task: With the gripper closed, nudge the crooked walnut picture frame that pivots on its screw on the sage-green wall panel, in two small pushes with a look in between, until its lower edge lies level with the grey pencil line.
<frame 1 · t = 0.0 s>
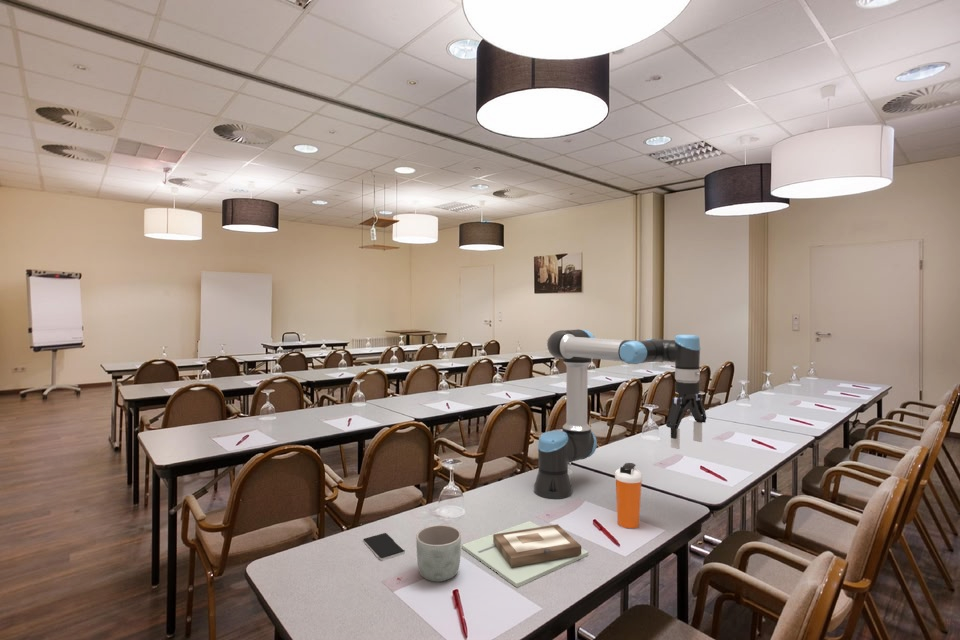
hand: (686, 444, 161), 28 cm above the table, fingers open, 13 cm apart
wall panel: (524, 551, 146), on the table
frame: (536, 543, 144), point 3 cm above the table, hinge at -18.0°
shaker bottle: (628, 524, 164), on the table
planter: (438, 574, 134), on the table
smartphone: (383, 549, 149), on the table
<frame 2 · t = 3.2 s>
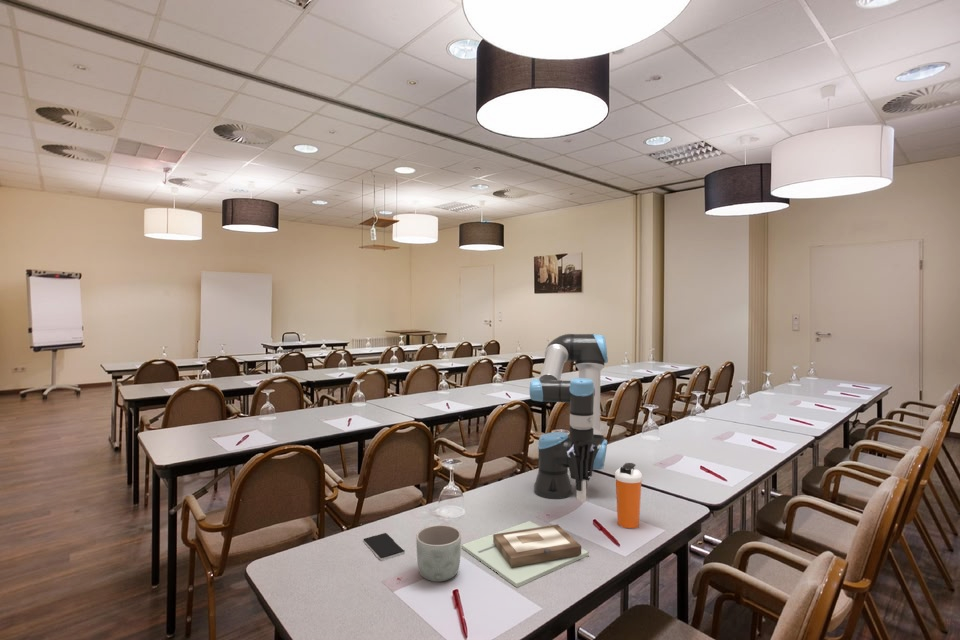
hand: (581, 499, 156), 12 cm above the table, fingers closed
nothing on the table moved.
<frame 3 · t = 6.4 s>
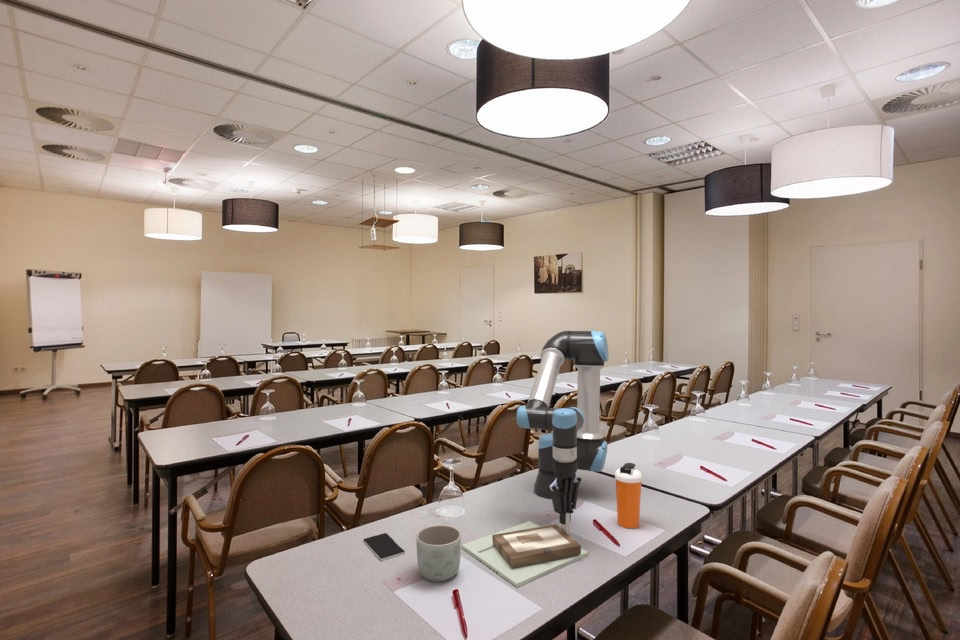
hand: (565, 532, 152), 3 cm above the table, fingers closed
frame: (536, 543, 144), point 3 cm above the table, hinge at -16.6°, touching gripper
everything else where it was.
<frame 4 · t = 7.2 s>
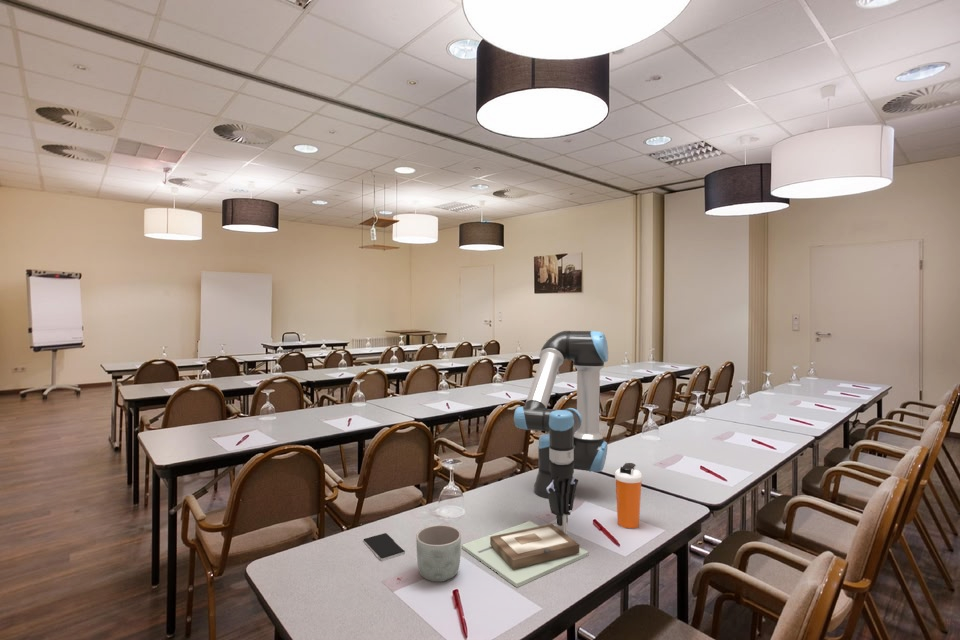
hand: (562, 534, 152), 2 cm above the table, fingers closed
frame: (534, 544, 144), point 3 cm above the table, hinge at -12.5°, touching gripper
everything else where it was.
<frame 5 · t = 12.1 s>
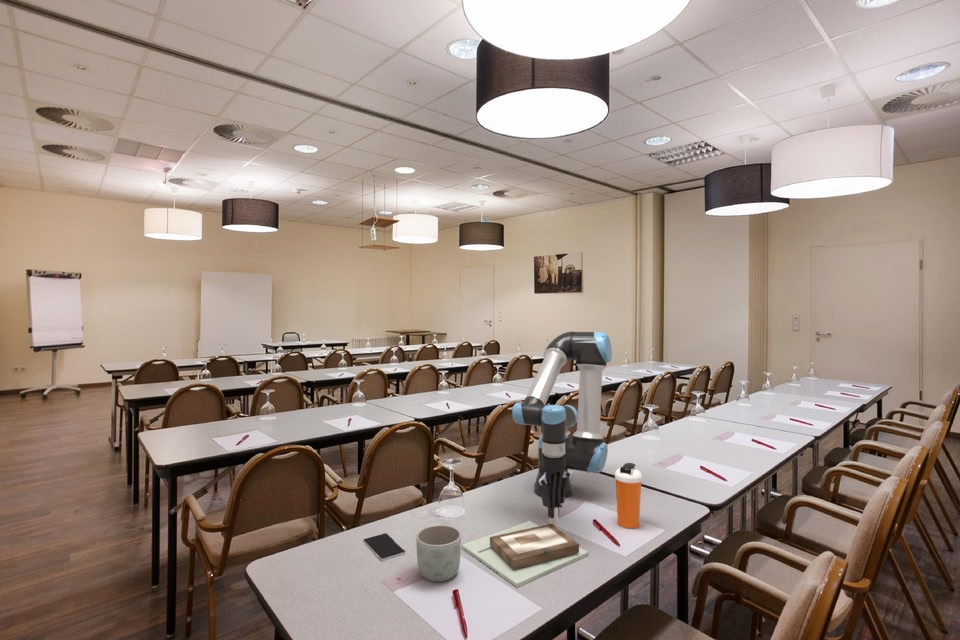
hand: (553, 526, 156), 3 cm above the table, fingers closed
frame: (534, 544, 144), point 3 cm above the table, hinge at -11.6°, touching gripper
everything else where it was.
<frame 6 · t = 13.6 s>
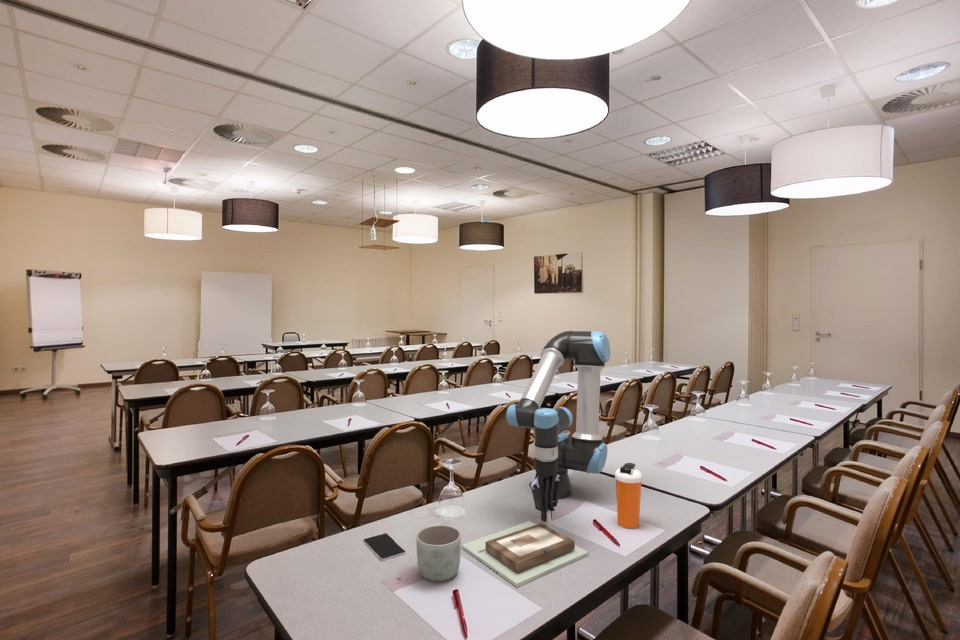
hand: (546, 529, 155), 2 cm above the table, fingers closed
frame: (531, 545, 143), point 3 cm above the table, hinge at -1.5°, touching gripper
everything else where it was.
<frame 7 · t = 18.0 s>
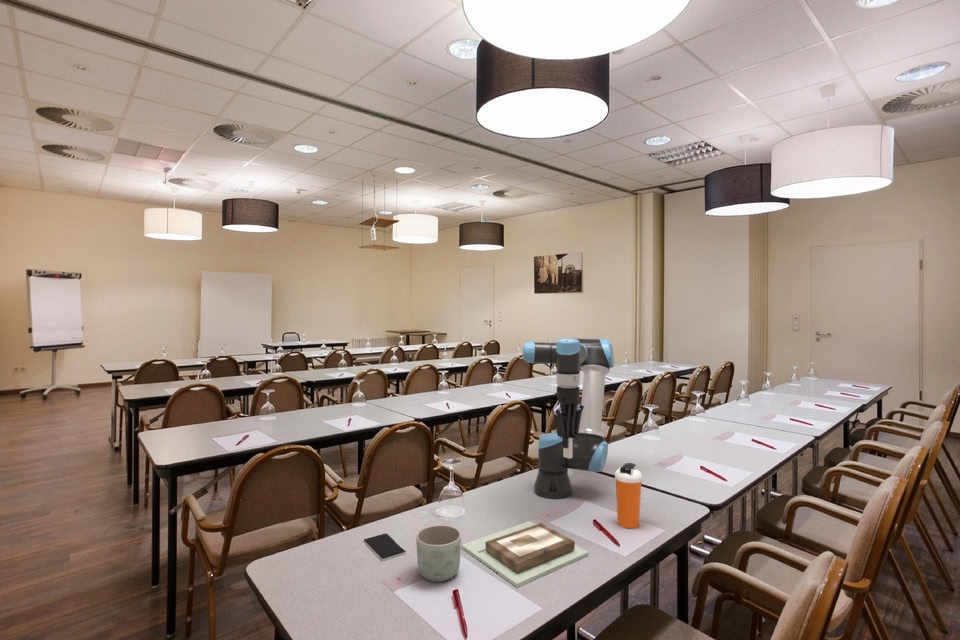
hand: (567, 457, 159), 24 cm above the table, fingers closed
frame: (531, 545, 143), point 3 cm above the table, hinge at -1.4°
everything else where it was.
at the end: frame at -1° (first picture: -18°) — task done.
